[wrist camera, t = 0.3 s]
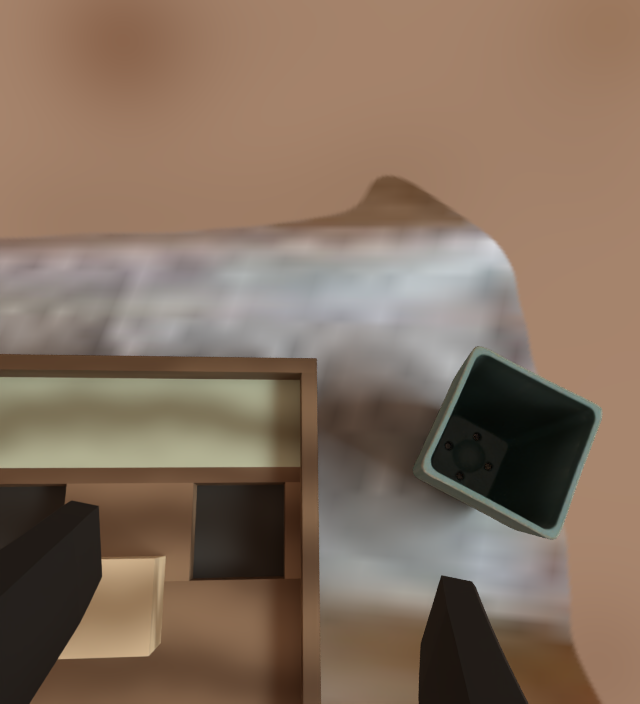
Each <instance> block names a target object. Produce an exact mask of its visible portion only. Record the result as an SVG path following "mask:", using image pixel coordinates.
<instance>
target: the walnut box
mask: <svg viewBox="0 0 640 704" xmlns="http://www.w3.org/2000/svg"><path fill="white" fill-rule="evenodd" d="M71 500H73V501H78V502H82V503H87V504H92V505H97V506H99V519H100V539H101V557H132V556H166V561H165V578H164V595H163V612H162V629H161V643H160V644H159V646H158V647H157V648H156V649H155V650H154V651H153V652H152V653H151V654H150V655H149V656H141V657H111V658H81V659H58V660H57V661H56V663H55V664H54V666H53V667H52V669H51V671H50V672H49V674H48V675H47V677H46V678H45V680H44V682H43V683H42V685H41V686H40V688H39V689H38V691H37V693H36V694H35V696H34V697H33V699H32V701H31V702H30V704H321V672H320V593H319V513H318V434H317V358H245V357H170V356H95V355H20V354H0V549H2V548H3V547H5V546H6V545H7V544H9V543H10V542H12V541H13V540H15V539H16V538H18V537H19V536H20V535H22V534H23V533H25V532H26V531H28V530H29V529H30V528H32V527H33V526H35V525H36V524H38V523H39V522H40V521H42V520H43V519H45V518H46V517H48V516H49V515H50V514H52V513H53V512H55V511H56V510H58V509H59V508H61V507H62V506H64V505H65V504H66V503H68V502H69V501H71Z"/></svg>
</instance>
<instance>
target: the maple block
mask: <svg viewBox="0 0 640 704" xmlns="http://www.w3.org/2000/svg"><path fill="white" fill-rule="evenodd" d="M101 560H102V578H101V581H100V583H99V585H98V587H97V589H96V591H95V593H94V596H93V598H92V600H91V602H90V604H89V606H88V608H87V610H86V612H85V614H84V616H83V618H82V620H81V622H80V624H79V626H78V627H77V629H76V631H75V632H74V634H73V636H72V637H71V639H70V640H69V642H68V644H67V645H66V647H65V648H64V650H63V652H62V653H61V655H60V656H59V658H58V659H81V658H111V657H141V656H149V655H150V654H151V653H152V652H153V651H154V650H155V649H156V648H157V647H158V646H159V644H160V643H161V629H162V612H163V595H164V578H165V561H166V556H132V557H101Z"/></svg>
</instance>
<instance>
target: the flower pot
mask: <svg viewBox="0 0 640 704" xmlns="http://www.w3.org/2000/svg"><path fill="white" fill-rule="evenodd" d="M601 419H602V409H601V407H599V406H598V405H596V404H595V403H593V402H591V401H589V400H587V399H585V398H583V397H581V396H579V395H577V394H575V393H573V392H571V391H569V390H566V389H564V388H563V387H560V386H558V385H557V384H554V383H552V382H550V381H548V380H546V379H544V378H543V377H541V376H539V375H537V374H535V373H533V372H531V371H529V370H527V369H525V368H523V367H521V366H519V365H517V364H515V363H513V362H511V361H509V360H507V359H506V358H504V357H502V356H500V355H498V354H496V353H494V352H493V351H491V350H489V349H487V348H484V347H479V346H477V347H475V348H474V349H473V350H472V352H471V353H470V355H469V356H468V358H467V359H466V360H465V362H464V363H463V365H462V366H461V368H460V370H459V371H458V373H457V374H456V376H455V378H454V379H453V382H452V384H451V386H450V388H449V390H448V393H447V395H446V397H445V399H444V402H443V404H442V406H441V408H440V410H439V413H438V415H437V417H436V419H435V421H434V424H433V426H432V428H431V430H430V432H429V434H428V437H427V439H426V441H425V443H424V445H423V447H422V450H421V452H420V454H419V456H418V458H417V460H416V462H415V464H414V467H413V473H414V475H415V476H416V477H417V478H418V479H420V480H422V481H424V482H425V483H427V484H429V485H431V486H433V487H435V488H437V489H439V490H441V491H443V492H444V493H446V494H448V495H450V496H452V497H454V498H456V499H458V500H460V501H462V502H463V503H465V504H467V505H469V506H471V507H473V508H475V509H477V510H478V511H480V512H482V513H484V514H486V515H488V516H490V517H492V518H493V519H495V520H497V521H499V522H501V523H502V524H504V525H506V526H508V527H510V528H512V529H515V530H517V531H521V532H525V533H528V534H532V535H536V536H539V537H543V538H547V539H551V540H554V539H556V538H557V537H558V535H559V534H560V532H561V530H562V527H563V525H564V522H565V519H566V515H567V513H568V510H569V507H570V504H571V501H572V498H573V495H574V492H575V490H576V486H577V484H578V481H579V478H580V476H581V472H582V469H583V467H584V464H585V462H586V459H587V457H588V454H589V451H590V449H591V446H592V443H593V441H594V438H595V435H596V433H597V431H598V428H599V425H600V422H601ZM476 433H477V434H479V436H480V439H479V440H474V438H473V435H474V434H476ZM447 442H449V443H451V445H452V447H451V449H446V447H445V444H446V443H447ZM486 463H490V464H491V466H492V467H491V470H486V469H485V464H486ZM458 472H461V473H462V474H463V478H462V479H458V478H457V476H456V475H457V473H458Z"/></svg>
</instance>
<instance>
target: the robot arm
mask: <svg viewBox="0 0 640 704" xmlns="http://www.w3.org/2000/svg"><path fill="white" fill-rule="evenodd" d="M101 578H102V560H101V539H100V519H99V506H97V505H92V504H87V503H82V502H78V501H73V500H71V501H69V502H68V503H66V504H65V505H64V506H62V507H61V508H59V509H58V510H56V511H55V512H53V513H52V514H50V515H49V516H48V517H46V518H45V519H43V520H42V521H40V522H39V523H38V524H36V525H35V526H33V527H32V528H30V529H29V530H28V531H26V532H25V533H23V534H22V535H20V536H19V537H18V538H16V539H15V540H13V541H12V542H10V543H9V544H7V545H6V546H5V547H3V548H2V549H0V704H30V702H31V701H32V699H33V697H34V696H35V694H36V693H37V691H38V689H39V688H40V686H41V685H42V683H43V682H44V680H45V678H46V677H47V675H48V674H49V672H50V671H51V669H52V667H53V666H54V664H55V663H56V661H57V660H58V658H59V656H60V655H61V653H62V652H63V650H64V648H65V647H66V645H67V644H68V642H69V640H70V639H71V637H72V636H73V634H74V632H75V631H76V629H77V627H78V626H79V624H80V622H81V620H82V618H83V616H84V614H85V612H86V610H87V608H88V606H89V604H90V602H91V600H92V598H93V596H94V593H95V591H96V589H97V587H98V585H99V583H100V581H101ZM419 704H528V702H527V700H526V698H525V696H524V694H523V692H522V690H521V688H520V686H519V684H518V682H517V680H516V678H515V676H514V674H513V672H512V670H511V668H510V666H509V664H508V662H507V660H506V658H505V655H504V653H503V651H502V649H501V647H500V644H499V642H498V640H497V638H496V635H495V633H494V631H493V629H492V626H491V624H490V622H489V619H488V617H487V614H486V612H485V610H484V607H483V605H482V602H481V599H480V597H479V594H478V592H477V589H476V587H475V585H474V584H473V583H472V582H471V581H466V580H461V579H457V578H452V577H447V576H442V575H441V578H440V582H439V585H438V588H437V592H436V595H435V598H434V602H433V605H432V608H431V612H430V615H429V618H428V622H427V625H426V628H425V632H424V635H423V638H422V642H421V649H420V670H419Z"/></svg>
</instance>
